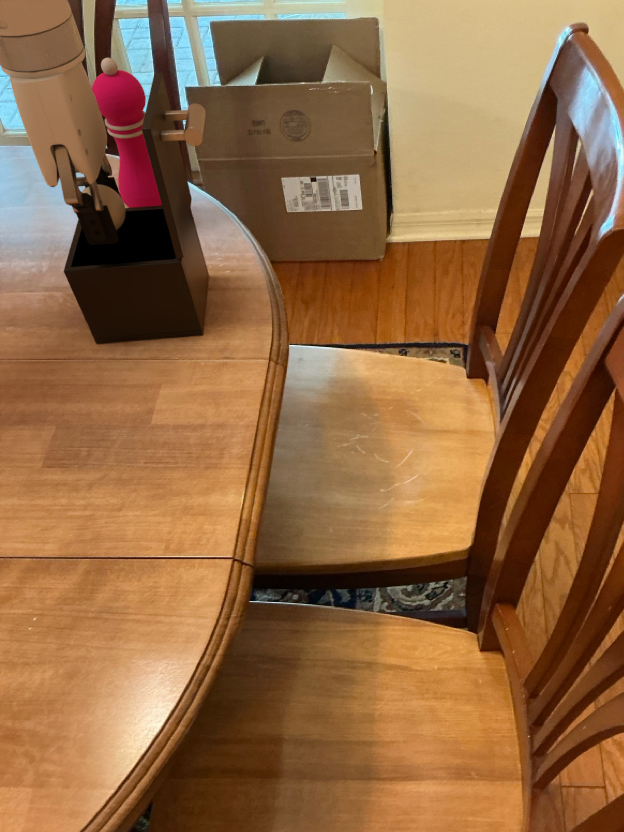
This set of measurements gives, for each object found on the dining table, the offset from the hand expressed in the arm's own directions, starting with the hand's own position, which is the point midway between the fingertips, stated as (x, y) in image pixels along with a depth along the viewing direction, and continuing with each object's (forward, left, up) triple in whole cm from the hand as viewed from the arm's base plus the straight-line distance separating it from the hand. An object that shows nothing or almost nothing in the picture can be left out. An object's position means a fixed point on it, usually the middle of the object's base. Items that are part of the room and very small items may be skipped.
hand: (107, 226), depth 83 cm
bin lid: (+8, 0, +6) cm, 10 cm away
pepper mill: (0, +19, -11) cm, 22 cm away
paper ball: (0, 0, 0) cm, 0 cm away
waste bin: (+2, 0, -11) cm, 11 cm away
